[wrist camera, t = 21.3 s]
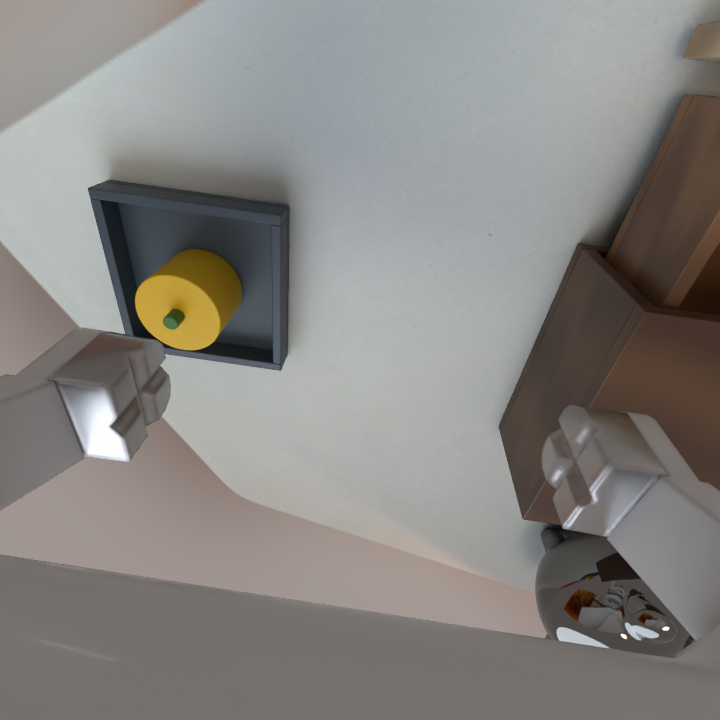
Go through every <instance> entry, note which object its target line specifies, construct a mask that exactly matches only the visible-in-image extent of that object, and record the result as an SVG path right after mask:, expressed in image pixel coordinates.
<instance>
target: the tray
mask: <svg viewBox="0 0 720 720" xmlns="http://www.w3.org/2000/svg"><path fill="white" fill-rule="evenodd" d="M88 191H89V195H90V198H92V199H91V203H92V207H93V211H94V215H95V219H96V222H97V226H98V230H99V234H100V238H101V242H102V246H103V249H104V253H105V257H106V261H107V265H108V269H109V273H110V276H111V280H112V284H113V288H114V292H115V296H116V299H117V303H118V307H119V311H120V315H121V319H122V323H123V326H124V330H125V334H126V335H131V336H137V337H143V338H148V339H154V340H158V339H157V338H156V337H154V336H153V335H152V334H151V333H150V332H149V331H148V330H147V329H146V328H145V326H144V325H143V324H142V322H141V320H140V319H139V316H138V314H137V311H136V307H135V296H136V292H137V289H138V287H139V286H140V285H141V283H142V282H143V281H145V280H146V279H147V278H148V277H149V276H151V275H152V274H153V273H154V272H156V271H157V270H158V269H159V268H160V267H162V266H163V265H164V264H165V263H167V262H168V261H169V260H170V259H172V258H173V257H174V256H175V255H176V254H178V253H180V252H182V251H184V250H188V249H202V250H206V251H209V252H212V253H214V254H216V255H218V256H220V257H221V258H223V259H224V260H225V261H226V262H227V263H229V264H230V266H231V267H232V268H233V269H234V271H235V272H236V274H237V275H238V277H239V280H240V282H241V286H242V300H241V303H240V305H239V307H238V308H237V310H236V311H235V313H234V314H233V316H232V317H231V318H230V320H229V321H228V323H227V324H226V326H225V327H224V329H223V330H222V331H221V333H220V334H219V336H218V337H217V338H216V340H215V341H214V342H213V343H212V344H210V345H209V346H207V347H205V348H202V349H199V350H182V349H177V348H174V347H171V346H169V345H167V344H165V343H163V342H161V341H160V340H158V341H159V342H160V343H161V344H163V348H164V352H165V354H169V355H176V356H183V357H190V358H197V359H204V360H211V361H217V362H224V363H231V364H238V365H245V366H252V367H259V368H266V369H272V370H279V371H281V369H282V367H283V364H284V362H285V359H286V357H287V355H288V278H289V206H287V205H280V204H273V203H266V202H259V201H252V200H245V199H238V198H231V197H224V196H217V195H210V194H203V193H196V192H189V191H182V190H175V189H168V188H161V187H154V186H147V185H140V184H133V183H126V182H119V181H112V180H108V181H105V182H103V183H100V184H97V185H95V186H92V187H89V188H88Z"/></svg>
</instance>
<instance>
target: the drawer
mask: <svg viewBox="0 0 720 720" xmlns="http://www.w3.org/2000/svg"><path fill="white" fill-rule="evenodd" d="M683 58H687V59H694V60H701V61H708V62H715V63H720V21H719V22H713V23H706V24H699V25H698V26H697V27H696V29H695V32H694V34H693V36H692V38H691V40H690V42H689V45H688V47H687V49H686V51H685V53H684V55H683ZM605 260H606V261H607V262H608V263H609V264H610V265H611V266H612V267H614V268H615V269H616V270H617V271H618V272H619V273H620V274H621V275H622V276H623V277H624V278H625V279H626V280H627V281H628V282H629V283H630V284H631V285H632V286H633V287H634V288H636V289H637V290H638V291H639V292H640V293H641V294H642V295H643V296H644V297H645V298H646V299H647V300H648V301H649V302H650V303H651V304H652V305H653V306H657V307H664V308H671V309H678V310H685V311H692V312H699V313H706V314H713V315H720V97H710V96H700V95H689V94H686V95H684V97H683V99H682V101H681V103H680V105H679V107H678V110H677V112H676V114H675V116H674V118H673V120H672V122H671V124H670V126H669V128H668V130H667V132H666V134H665V136H664V138H663V140H662V143H661V145H660V147H659V149H658V151H657V153H656V155H655V157H654V159H653V161H652V163H651V165H650V167H649V169H648V171H647V174H646V176H645V178H644V180H643V182H642V184H641V186H640V188H639V190H638V192H637V194H636V196H635V198H634V200H633V202H632V204H631V207H630V209H629V211H628V213H627V215H626V217H625V219H624V221H623V223H622V225H621V227H620V229H619V231H618V233H617V235H616V237H615V240H614V242H613V244H612V246H611V248H610V250H609V252H608V254H607V256H606V258H605Z"/></svg>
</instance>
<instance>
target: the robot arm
mask: <svg viewBox="0 0 720 720" xmlns="http://www.w3.org/2000/svg"><path fill="white" fill-rule="evenodd" d="M165 359H166V357H165V352H164V348H163V344H161V343H160V342H159V341H158V340H154V339H148V338H143V337H137V336H131V335H126V334H120V333H114V332H106V331H102V330H96V329H90V328H78V329H74V330H73V331H72V332H70V333H69V334H68V335H66V336H65V337H64V338H62V339H61V340H60V341H59V342H57V343H56V344H55V345H54V346H52V347H51V348H50V349H48V350H47V351H46V352H45V353H43V354H42V355H41V356H39V357H38V358H37V359H36V360H34V361H33V362H32V363H31V364H29V365H28V366H27V367H26V368H24V369H23V370H22V371H20V372H19V373H18V374H16V375H9V374H6V375H3V376H0V511H1V510H2V509H4V508H5V507H7V506H9V505H10V504H12V503H13V502H15V501H17V500H18V499H20V498H21V497H23V496H24V495H26V494H28V493H29V492H31V491H33V490H34V489H36V488H37V487H39V486H41V485H42V484H44V483H46V482H47V481H49V480H50V479H52V478H54V477H55V476H57V475H58V474H60V473H62V472H63V471H65V470H66V469H68V468H70V467H71V466H73V465H75V464H76V463H78V462H79V461H81V460H83V459H84V456H89V457H96V458H104V459H112V460H120V461H128V462H130V460H131V459H132V457H133V456H134V455H135V453H136V452H137V450H138V449H139V448H140V446H141V445H142V443H143V442H144V440H145V439H146V438H147V431H146V426H147V425H150V424H152V423H154V422H156V421H157V420H159V419H160V417H161V416H162V414H163V413H164V411H165V410H166V407H167V404H168V401H169V398H170V390H171V384H170V378H169V375H168V374H167V373H166V372H165V371H164V370H163V368H162V367H161V366H160V365H161V364H162V362H163V361H164V360H165ZM558 420H559V423H560V426H561V428H560V429H559V430H557V431H555V432H553V433H551V434H550V435H549V436H548V438H547V440H546V442H545V444H544V446H543V452H542V459H541V460H542V469H543V472H544V475H545V479H546V480H547V481H548V482H549V483H550V484H551V485H552V486H553V487H554V488H555V489H556V490H557V491H556V493H555V495H554V496H553V498H552V499H553V502H554V505H555V508H556V511H557V513H558V516H559V519H560V522H561V525H562V528H563V529H567V530H572V531H578V532H583V533H589V534H594V535H600V536H605V537H608V538H607V540H608V541H609V542H610V543H611V544H612V546H613V547H614V548H615V549H616V550H617V551H618V552H619V554H620V555H621V556H622V557H623V558H624V559H625V560H626V562H627V563H628V564H629V565H630V566H631V567H632V568H633V570H634V571H635V572H636V573H637V574H638V575H639V576H640V578H641V579H642V580H643V581H644V582H645V583H646V584H647V586H648V587H649V588H650V589H651V590H652V591H653V592H654V594H655V595H656V596H657V597H658V598H659V599H660V600H661V602H662V603H663V604H664V605H665V606H666V607H667V608H668V610H669V611H670V612H671V613H672V614H673V615H674V616H675V618H676V619H677V620H678V621H679V622H680V623H681V624H682V626H683V627H684V628H685V629H686V630H687V631H688V632H689V634H690V635H691V636H692V637H693V638H694V639H695V640H696V641H695V642H693V643H692V644H690V645H689V646H687V647H686V648H684V649H683V650H681V651H680V652H678V654H677V655H676V657H675V658H668V657H662V656H655V655H649V654H642V653H636V652H629V651H623V650H616V649H610V648H603V647H597V646H590V645H584V644H577V643H571V642H564V641H558V640H551V639H545V638H539V637H532V636H525V635H519V634H513V633H506V632H500V631H493V630H487V629H480V628H474V627H467V626H461V625H454V624H448V623H442V622H435V621H429V620H422V619H416V618H409V617H402V616H396V615H390V614H383V613H377V612H370V611H364V610H357V609H350V608H344V607H338V606H331V605H325V604H318V603H312V602H305V601H298V600H292V599H285V598H279V597H272V596H266V595H260V594H253V593H247V592H240V591H233V590H227V589H220V588H213V587H207V586H201V585H194V584H188V583H181V582H175V581H168V580H161V579H154V578H149V577H142V576H136V575H129V574H123V573H116V572H109V571H103V570H97V569H90V568H84V567H77V566H71V565H64V564H58V563H51V562H45V561H38V560H32V559H25V558H19V557H12V556H5V555H0V720H720V491H719V490H718V489H716V488H715V487H714V486H712V485H711V484H709V483H705V482H700V481H699V480H698V478H697V477H696V475H695V474H694V473H693V471H692V470H691V469H690V467H689V466H688V464H687V463H686V462H685V460H684V459H683V457H682V456H681V455H680V453H679V452H678V450H677V449H676V448H675V446H674V445H673V443H672V442H671V441H670V439H669V438H668V437H667V435H666V434H665V432H664V431H663V430H662V428H661V427H660V425H659V424H658V423H657V421H656V420H655V419H653V418H652V417H650V416H649V415H645V414H637V413H629V412H616V411H609V410H602V409H596V408H589V407H582V406H576V405H569V406H568V407H566V408H565V409H564V410H563V412H562V413H561V415H560V417H559V418H558Z"/></svg>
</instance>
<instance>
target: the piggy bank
mask: <svg viewBox="0 0 720 720" xmlns="http://www.w3.org/2000/svg"><path fill="white" fill-rule="evenodd" d="M607 538H608V537H605V536H600V535H594V534H589V533H583V532H579V533H577V534H574V535H572V536H569V537H567V538H565V537H564V536H563V535H562V534H561V533H560V532H559V531H557V530H555V529H546V530H544V531H542V533H541V539H542V542H543V545H544V548H545V554H544V556H543V558H542V559H541V561H540V564H539V566H538V569H537V573H536V581H535V593H536V601H537V607H538V611H539V614H540V618H541V621H542V623H543V625H544V628H545V630H546V632H547V635H546V638H545V639H551V640H558V641H564V642H571V643H577V644H584V645H590V646H597V647H603V648H610V649H616V650H623V651H629V652H636V653H642V654H649V655H655V656H662V657H668V658H675V657H676V655H677V654H678V652H680V651H681V650H683V649H684V648H686V647H687V646H689V645H690V644H692V643H693V642H695V641H696V640H695V639H694V638H693V637H692V636H691V635H690V634H689V632H688V631H687V630H686V629H685V628H684V627H683V626H682V624H681V623H680V622H679V621H678V620H677V619H676V618H675V616H674V615H673V614H672V613H671V612H670V611H669V610H668V608H667V607H666V606H665V605H664V604H663V603H662V602H661V600H660V599H659V598H658V597H657V596H656V595H655V594H654V592H653V591H652V590H651V589H650V588H649V587H648V586H647V584H646V583H645V582H644V581H643V580H642V579H641V578H640V576H639V575H638V574H637V573H636V572H635V571H634V570H633V568H632V567H631V566H630V565H629V564H628V563H627V562H626V560H625V559H624V558H623V557H622V556H621V555H620V554H619V552H618V551H617V550H616V549H615V548H614V547H613V546H612V544H611V543H610V542H609V541H608V540H607Z"/></svg>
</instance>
